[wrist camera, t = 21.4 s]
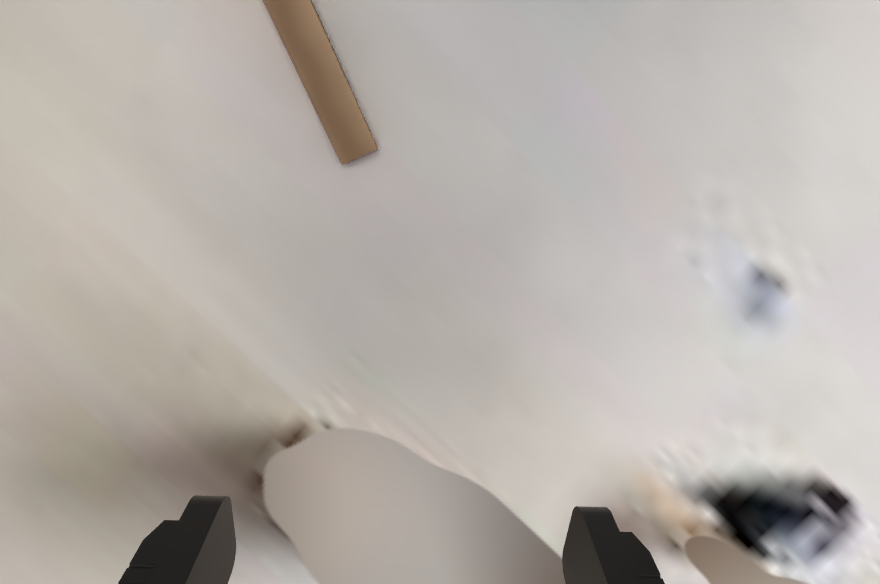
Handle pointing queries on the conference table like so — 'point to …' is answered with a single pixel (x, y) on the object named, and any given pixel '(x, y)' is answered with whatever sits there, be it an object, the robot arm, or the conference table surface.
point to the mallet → (322, 77)
